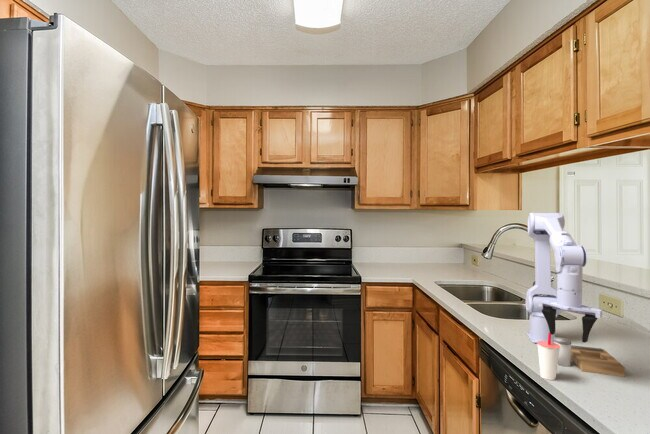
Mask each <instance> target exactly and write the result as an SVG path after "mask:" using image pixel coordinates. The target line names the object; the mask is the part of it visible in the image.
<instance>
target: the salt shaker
mask: <svg viewBox="0 0 650 434" xmlns="http://www.w3.org/2000/svg"><path fill="white" fill-rule="evenodd" d="M554 341H555V343H556V344H558V345H560V349H559V357H558V365H557V366H561V367H565V368H566V367H571V365H572V364H571V362H572V359H571V345H572V340H570V338H565V337H559V336H558V337H556V336H555V338H554Z"/></svg>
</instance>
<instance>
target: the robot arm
mask: <svg viewBox="0 0 650 434" xmlns="http://www.w3.org/2000/svg"><path fill="white" fill-rule="evenodd" d="M565 219H566V218H565V216H564V214H563V213H562V212H530V213H529V214H528V216H527V234H528V237H530V238H532V239H533V243H534V277H535V278H534V279H535V280H534V285H533V286H531V287H529V288H528V289H527V290H526V292H525V293H526V294H525V295H526V296H525V309H526V311H527V312H528V313H530V315H529V318H528V320H529V322H528V324H529V325H528V326H529V327H528V331H529V332H528V331H527V332H525V334H526V335H527V337H528V339H529V340H530V341H531V342H532V344H533V343H534V344H537V342H538V341H548V334H549V333H550V334H551V342H553V343H555V341H554V338H556V318H558V316H559V315H560V314H561V313H562V311H563V312H569V313H574V314H579V315H583V316H582V317H581V322H582V336H581V342H582V343H583V344H584V343H587V342H588V340H589V335H590V333H591V330H592V328H593V326H594V325H595V323H596V321H597V320H598V319H602V317H603V309H600V308H596V307H591V306H589V305H588V306H587V305H583V302H582V301H583V271H584V270H583V268H584V267H585V266H586V264H587V262H588V254H587V250H586V247H585V246H584V245H582V244H581V245H580V244H577V243H576V242H575V240H574V238H573V237H572V236H571V234H570V233H569V232H567V231H564V229H565V225H566V224H565V223H566V221H565ZM551 248H552V250H553V251H554V253H553V254H554V256H553V257H554V262H555V272H557V274H556V276H557V279H556V283H557V284H556V289H555V288H553V286H552V266H551Z"/></svg>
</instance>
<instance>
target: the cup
mask: <svg viewBox="0 0 650 434" xmlns="http://www.w3.org/2000/svg"><path fill="white" fill-rule="evenodd" d="M536 345H537V351H538V353H537V354H538V365H539V373H540V377H541V378H543V380H547V381H554V380H556V376H557V372H558V371H557V370H558V365H557V364H558V357H559V349H560V345H558V344H556V343H553V342H551V334H550V333H549V334H548V341H538V342H537V343H536Z"/></svg>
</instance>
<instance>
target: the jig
mask: <svg viewBox="0 0 650 434" xmlns="http://www.w3.org/2000/svg"><path fill="white" fill-rule="evenodd" d="M571 362H573V363H574V364H575V365H576V367H577V368H578V369H579V370H580V371H581V372H586V373H594V374H600V375H601V374H603V375H611V376H617V377H619V376H620V377H625V374H626V372H625V371H626V367H625V366H624V365H623V364H622V363H621V362H619V360H617V359H616V358H614V357H613V356H612V355H611V354H610V353H609V352H608V351H606V350H605V349H604V348H599V347H593V346H592V347H589V346H581V345H572V344H571Z"/></svg>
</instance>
